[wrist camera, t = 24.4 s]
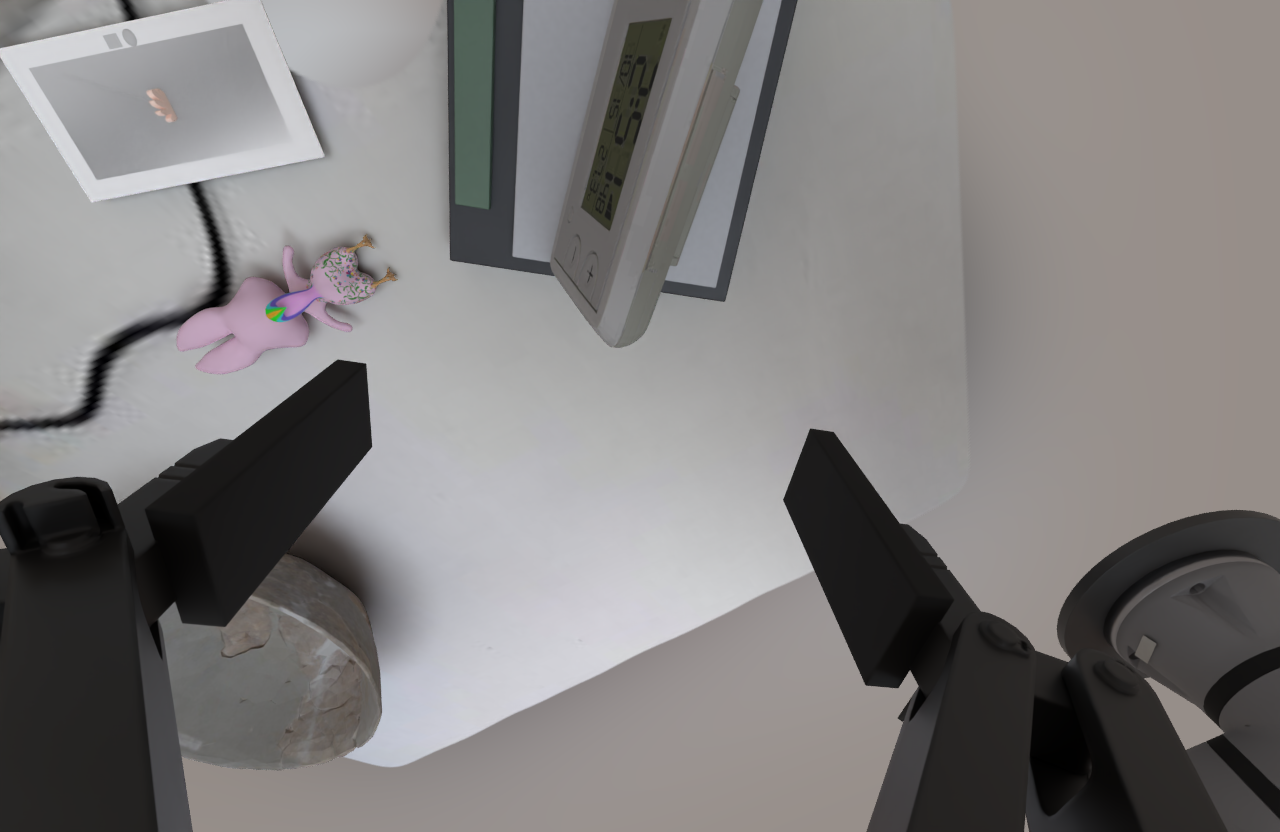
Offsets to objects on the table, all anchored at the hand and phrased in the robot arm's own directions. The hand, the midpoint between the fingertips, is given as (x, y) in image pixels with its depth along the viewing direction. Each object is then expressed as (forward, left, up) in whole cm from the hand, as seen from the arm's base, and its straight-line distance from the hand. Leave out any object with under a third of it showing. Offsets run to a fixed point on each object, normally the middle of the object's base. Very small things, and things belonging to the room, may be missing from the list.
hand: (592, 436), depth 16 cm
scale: (+1, -8, -23) cm, 25 cm away
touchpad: (+26, -5, -23) cm, 35 cm away
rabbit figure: (+21, +6, -23) cm, 32 cm away
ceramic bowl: (+25, +35, -23) cm, 49 cm away
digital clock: (0, -7, -20) cm, 21 cm away
